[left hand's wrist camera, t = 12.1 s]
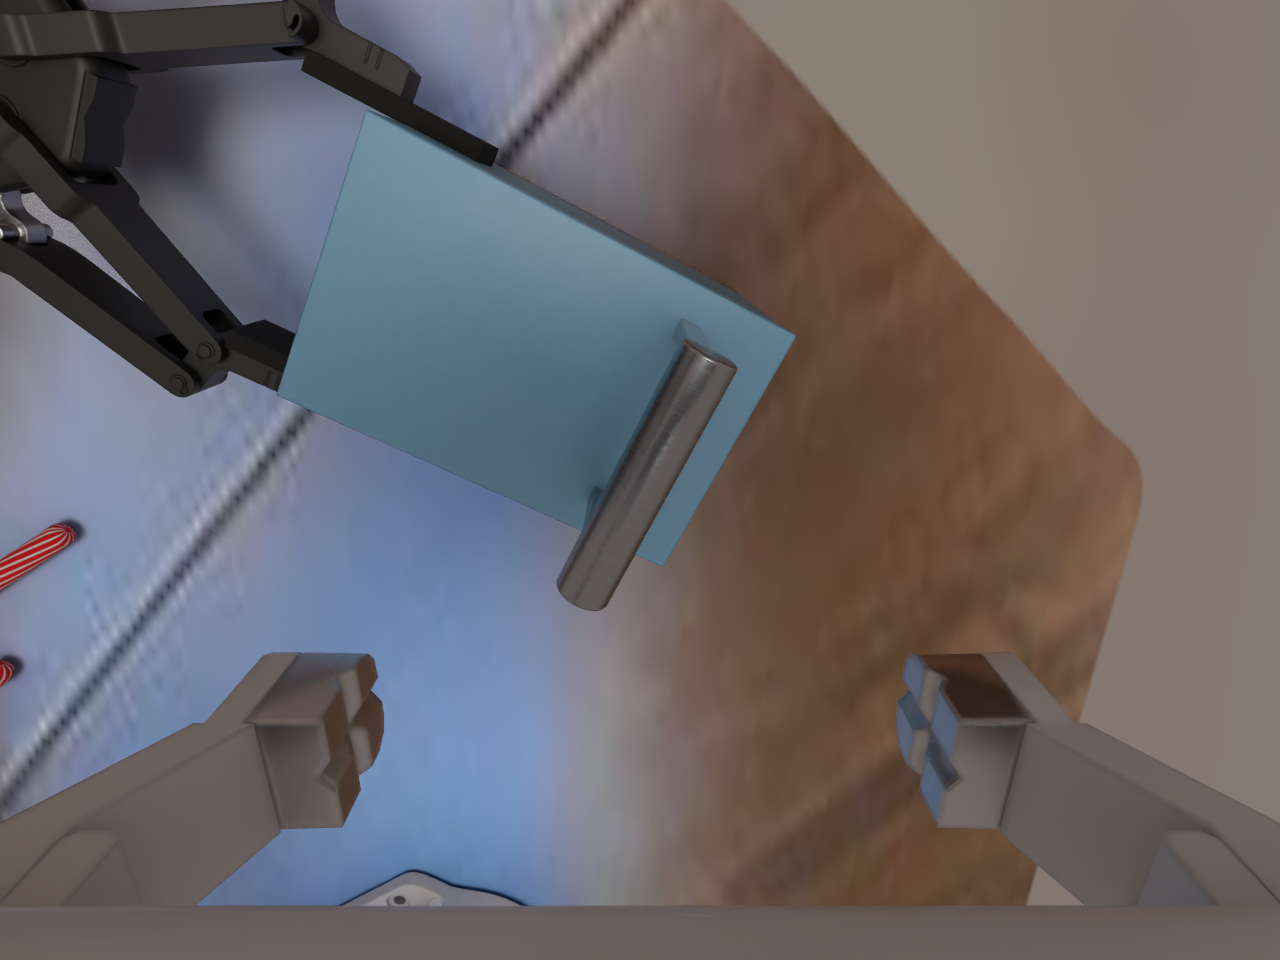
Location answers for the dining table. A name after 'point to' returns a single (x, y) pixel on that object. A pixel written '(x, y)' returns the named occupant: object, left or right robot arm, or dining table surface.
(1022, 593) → the dining table surface
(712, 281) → the chest
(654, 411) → the lid
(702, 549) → the dining table surface
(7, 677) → the candy cane
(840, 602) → the dining table surface
